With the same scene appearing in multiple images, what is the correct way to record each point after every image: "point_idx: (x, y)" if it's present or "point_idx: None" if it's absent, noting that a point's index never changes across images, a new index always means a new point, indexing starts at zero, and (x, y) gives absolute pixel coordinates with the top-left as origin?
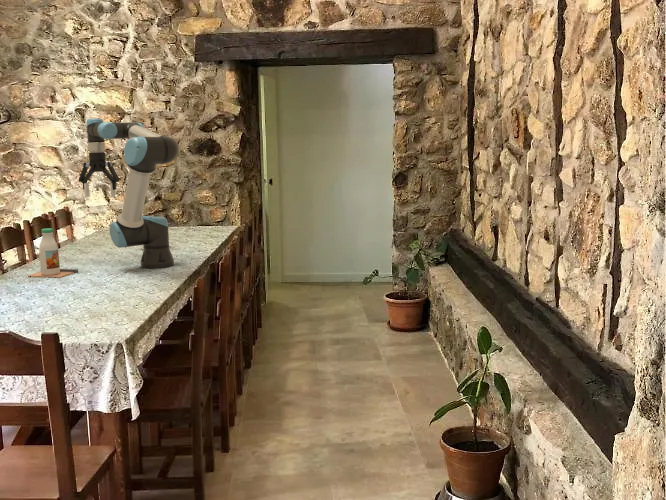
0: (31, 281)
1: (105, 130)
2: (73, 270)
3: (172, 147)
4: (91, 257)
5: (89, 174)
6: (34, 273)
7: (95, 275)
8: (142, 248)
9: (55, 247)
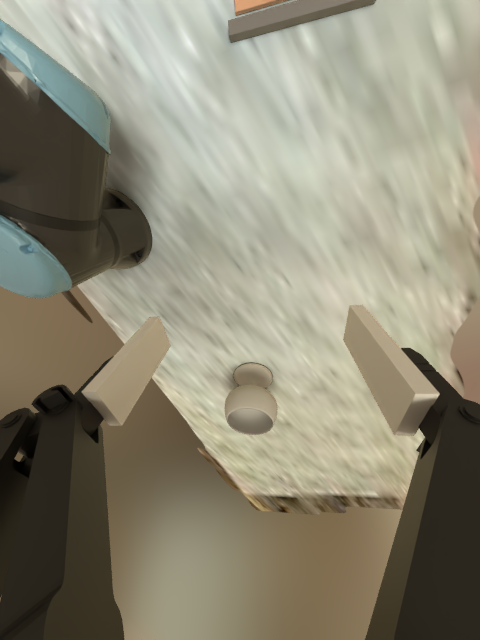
0: None
1: None
2: (240, 19)
3: None
4: (326, 285)
5: (414, 579)
6: None
7: (143, 9)
8: (265, 369)
9: None
